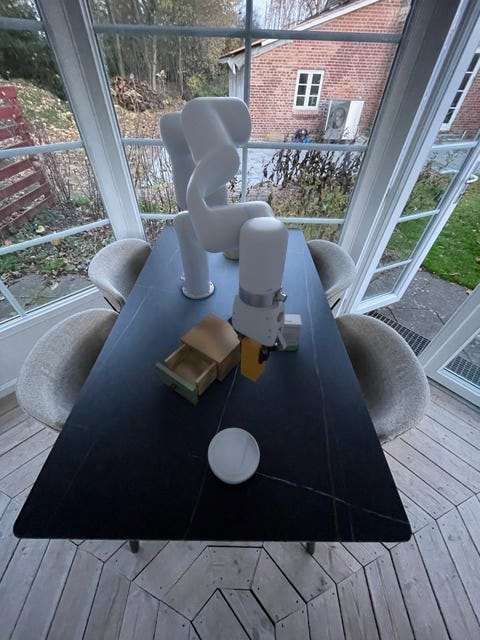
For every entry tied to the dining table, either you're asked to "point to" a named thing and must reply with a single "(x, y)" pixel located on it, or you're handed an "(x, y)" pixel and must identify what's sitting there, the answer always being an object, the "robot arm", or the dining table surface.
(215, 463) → the ramekin
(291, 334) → the ink box
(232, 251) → the sugar bowl
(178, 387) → the drawer
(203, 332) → the cabinet
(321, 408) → the dining table surface
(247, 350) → the block
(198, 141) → the robot arm
